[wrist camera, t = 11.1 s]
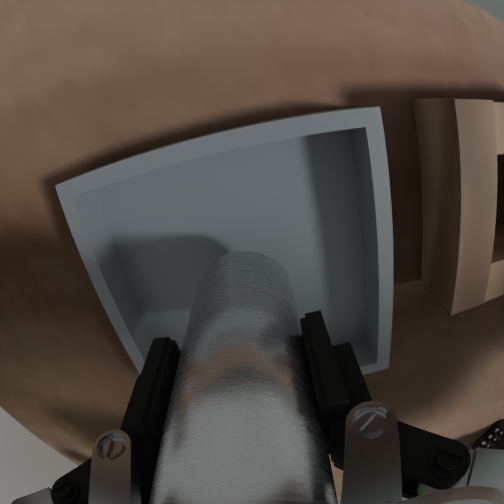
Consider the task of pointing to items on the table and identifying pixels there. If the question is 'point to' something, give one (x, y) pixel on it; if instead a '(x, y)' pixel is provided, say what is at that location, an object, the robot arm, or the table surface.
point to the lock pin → (243, 397)
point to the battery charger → (492, 438)
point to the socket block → (460, 199)
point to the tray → (245, 225)
